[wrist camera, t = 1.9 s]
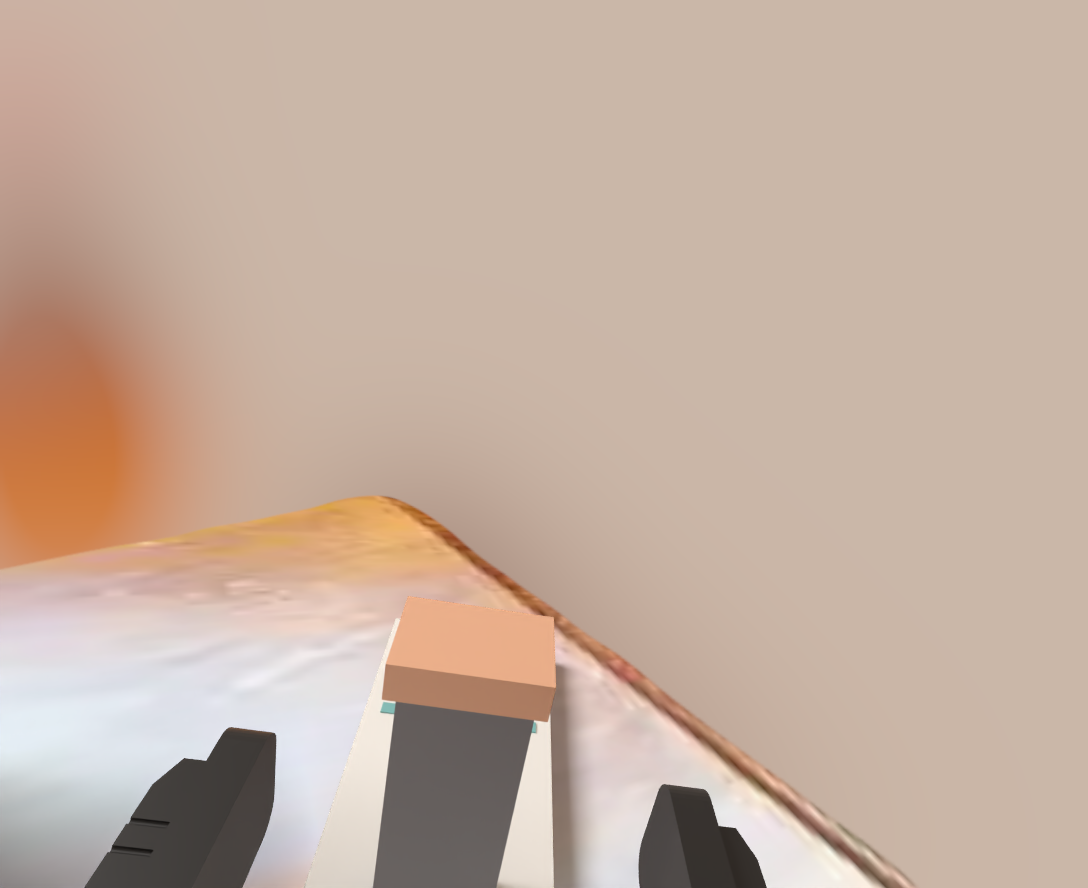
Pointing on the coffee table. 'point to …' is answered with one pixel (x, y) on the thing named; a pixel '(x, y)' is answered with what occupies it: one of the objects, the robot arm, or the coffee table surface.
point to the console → (356, 812)
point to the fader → (459, 739)
